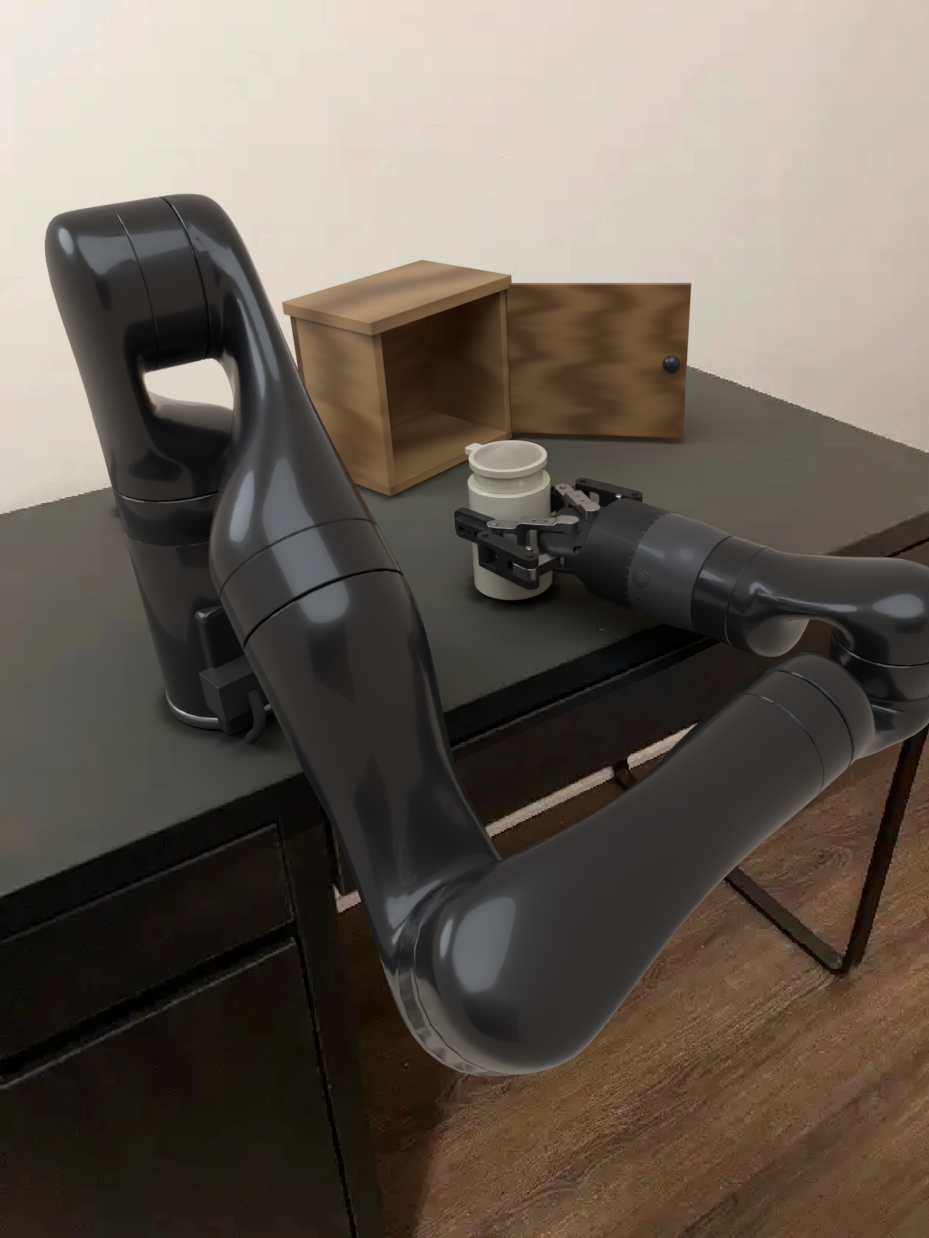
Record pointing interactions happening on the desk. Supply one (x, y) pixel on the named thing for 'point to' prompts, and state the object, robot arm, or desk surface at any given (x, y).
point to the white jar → (508, 502)
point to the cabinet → (484, 364)
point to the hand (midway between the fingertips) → (488, 504)
